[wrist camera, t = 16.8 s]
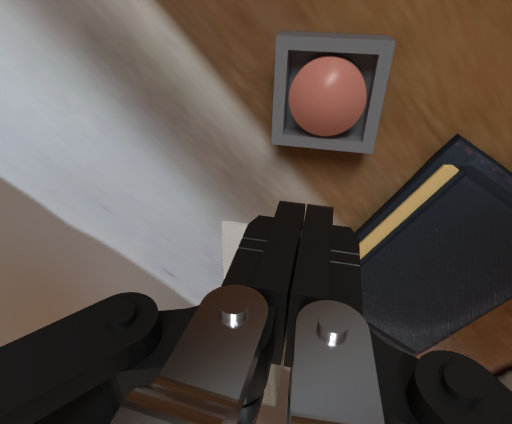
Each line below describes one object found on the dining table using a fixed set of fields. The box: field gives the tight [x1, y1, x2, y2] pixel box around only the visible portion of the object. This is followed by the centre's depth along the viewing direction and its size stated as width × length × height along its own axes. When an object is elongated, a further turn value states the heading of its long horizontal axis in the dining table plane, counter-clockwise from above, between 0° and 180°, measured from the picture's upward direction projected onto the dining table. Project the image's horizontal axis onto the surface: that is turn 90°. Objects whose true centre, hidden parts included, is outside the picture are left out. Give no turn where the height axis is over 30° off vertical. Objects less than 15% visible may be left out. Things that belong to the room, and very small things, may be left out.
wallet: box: [355, 134, 512, 356], centre depth 31 cm, size 20×2×15 cm
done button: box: [289, 53, 367, 136], centre depth 24 cm, size 5×5×2 cm
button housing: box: [271, 31, 396, 154], centre depth 25 cm, size 7×7×3 cm
